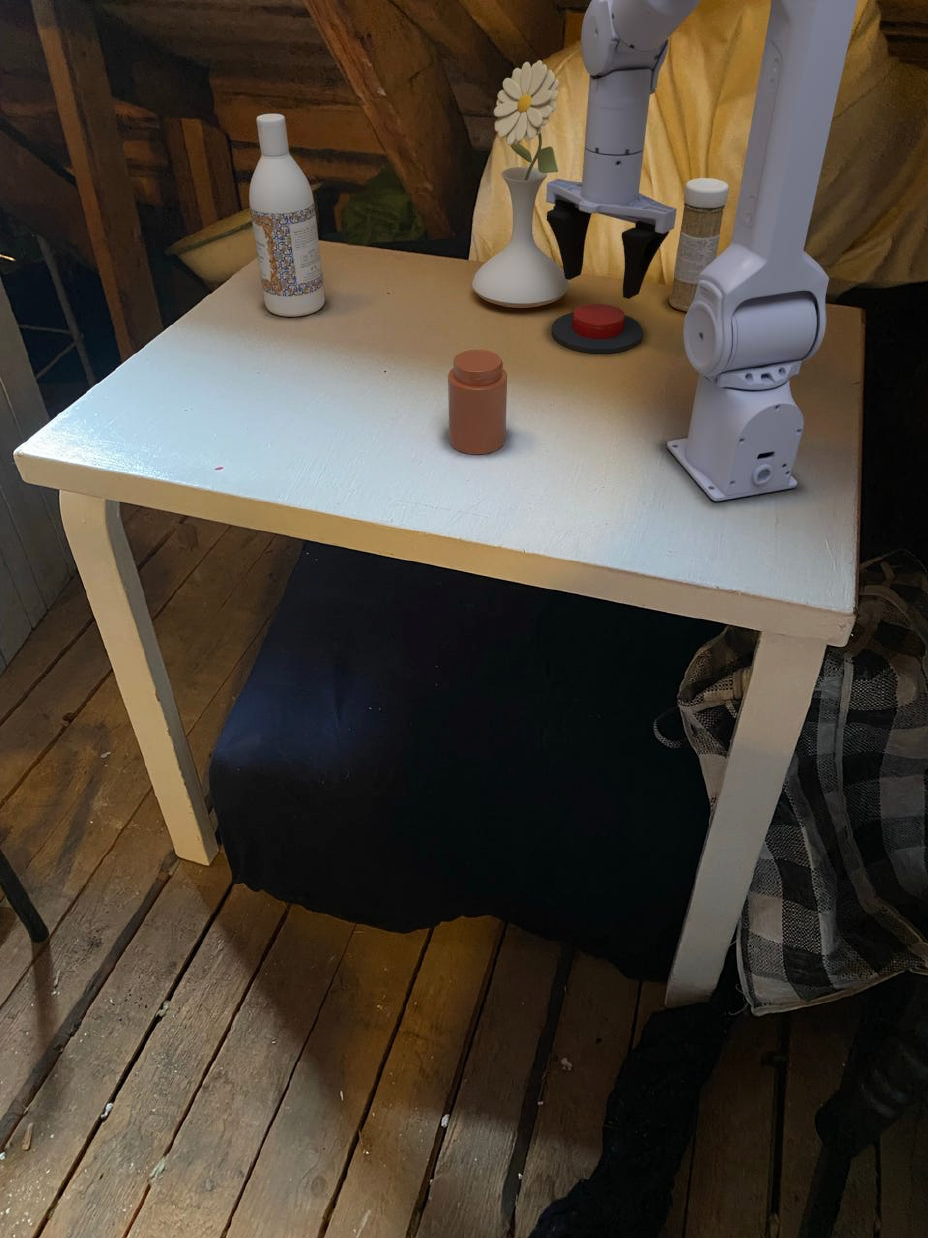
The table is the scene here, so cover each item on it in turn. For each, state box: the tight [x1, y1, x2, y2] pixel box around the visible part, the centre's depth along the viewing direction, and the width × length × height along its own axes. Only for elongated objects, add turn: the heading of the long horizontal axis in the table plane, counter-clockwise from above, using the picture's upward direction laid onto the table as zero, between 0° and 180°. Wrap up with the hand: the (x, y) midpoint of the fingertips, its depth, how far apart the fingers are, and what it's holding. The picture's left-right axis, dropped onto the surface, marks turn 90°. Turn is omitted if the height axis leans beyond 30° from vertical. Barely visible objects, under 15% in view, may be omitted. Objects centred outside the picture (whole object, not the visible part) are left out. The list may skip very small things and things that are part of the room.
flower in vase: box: [471, 59, 570, 309], centre depth 100 cm, size 13×11×25 cm
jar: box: [447, 349, 508, 456], centre depth 82 cm, size 5×5×8 cm
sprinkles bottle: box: [668, 177, 730, 313], centre depth 103 cm, size 5×5×13 cm
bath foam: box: [248, 113, 326, 318], centre depth 101 cm, size 7×7×20 cm
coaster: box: [551, 311, 644, 355], centre depth 101 cm, size 10×10×1 cm
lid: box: [572, 303, 625, 339], centre depth 101 cm, size 6×6×2 cm
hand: (601, 285), depth 98 cm, fingers open, 7 cm apart
